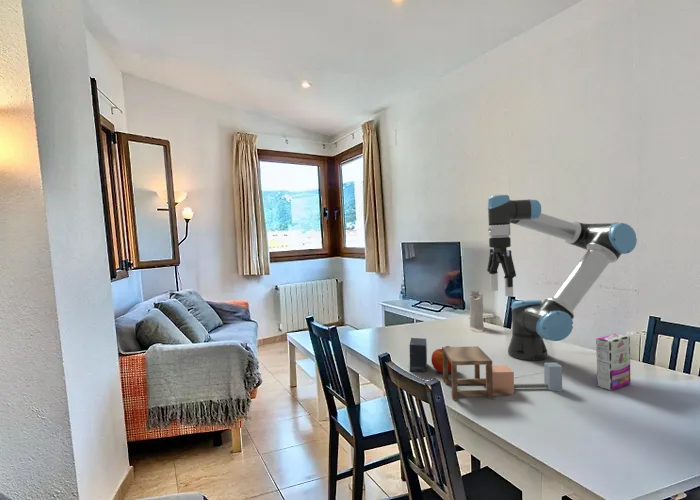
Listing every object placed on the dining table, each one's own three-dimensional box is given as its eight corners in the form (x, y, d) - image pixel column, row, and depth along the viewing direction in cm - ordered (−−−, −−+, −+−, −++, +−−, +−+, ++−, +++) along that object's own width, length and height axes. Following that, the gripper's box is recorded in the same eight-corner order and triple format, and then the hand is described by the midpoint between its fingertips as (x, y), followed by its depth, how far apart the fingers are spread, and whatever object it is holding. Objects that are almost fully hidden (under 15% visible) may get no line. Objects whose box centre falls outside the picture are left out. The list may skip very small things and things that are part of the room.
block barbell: (554, 384, 139) (554, 361, 139) (564, 392, 132) (564, 368, 132) (485, 385, 140) (485, 362, 139) (492, 393, 133) (491, 369, 132)
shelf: (495, 380, 144) (494, 346, 144) (511, 398, 128) (510, 360, 128) (443, 381, 145) (442, 347, 144) (453, 399, 129) (452, 361, 128)
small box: (426, 372, 154) (426, 345, 154) (409, 371, 156) (408, 344, 155) (427, 363, 165) (426, 337, 164) (411, 363, 166) (410, 337, 166)
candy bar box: (615, 380, 141) (615, 332, 140) (631, 384, 137) (631, 336, 136) (595, 386, 136) (595, 337, 135) (611, 391, 132) (611, 341, 131)
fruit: (440, 365, 162) (439, 340, 161) (462, 371, 155) (461, 344, 154) (426, 372, 155) (425, 345, 154) (448, 377, 148) (447, 350, 148)
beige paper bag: (472, 332, 212) (471, 293, 211) (469, 325, 226) (468, 289, 225) (486, 332, 211) (486, 293, 210) (482, 326, 225) (481, 289, 224)
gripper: (477, 236, 165) (479, 289, 166) (503, 237, 140) (505, 299, 141) (496, 236, 166) (497, 288, 167) (525, 236, 141) (526, 297, 142)
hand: (501, 293), depth 154 cm, fingers open, 13 cm apart
